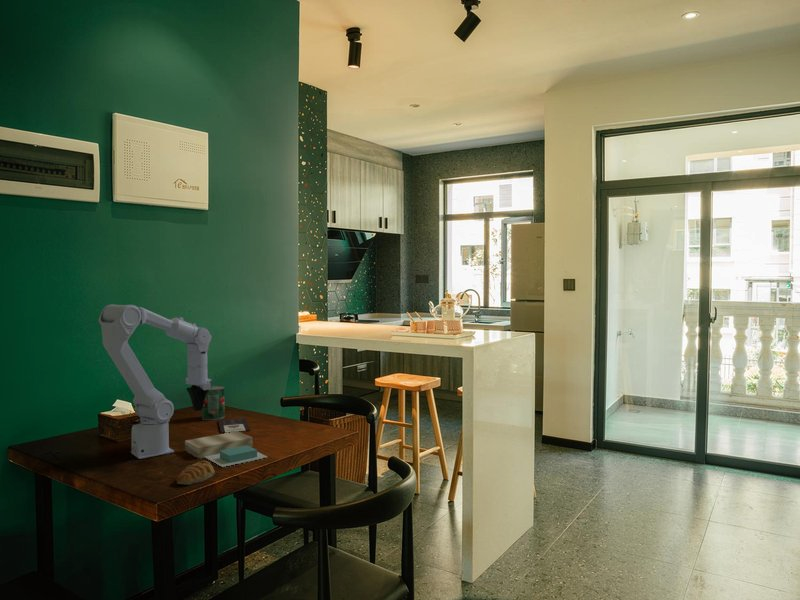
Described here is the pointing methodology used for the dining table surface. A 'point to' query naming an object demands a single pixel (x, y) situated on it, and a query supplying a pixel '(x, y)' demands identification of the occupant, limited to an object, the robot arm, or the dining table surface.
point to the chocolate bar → (233, 425)
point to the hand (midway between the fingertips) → (198, 410)
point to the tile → (238, 454)
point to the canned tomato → (214, 404)
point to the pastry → (196, 473)
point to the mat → (222, 463)
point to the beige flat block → (217, 443)
